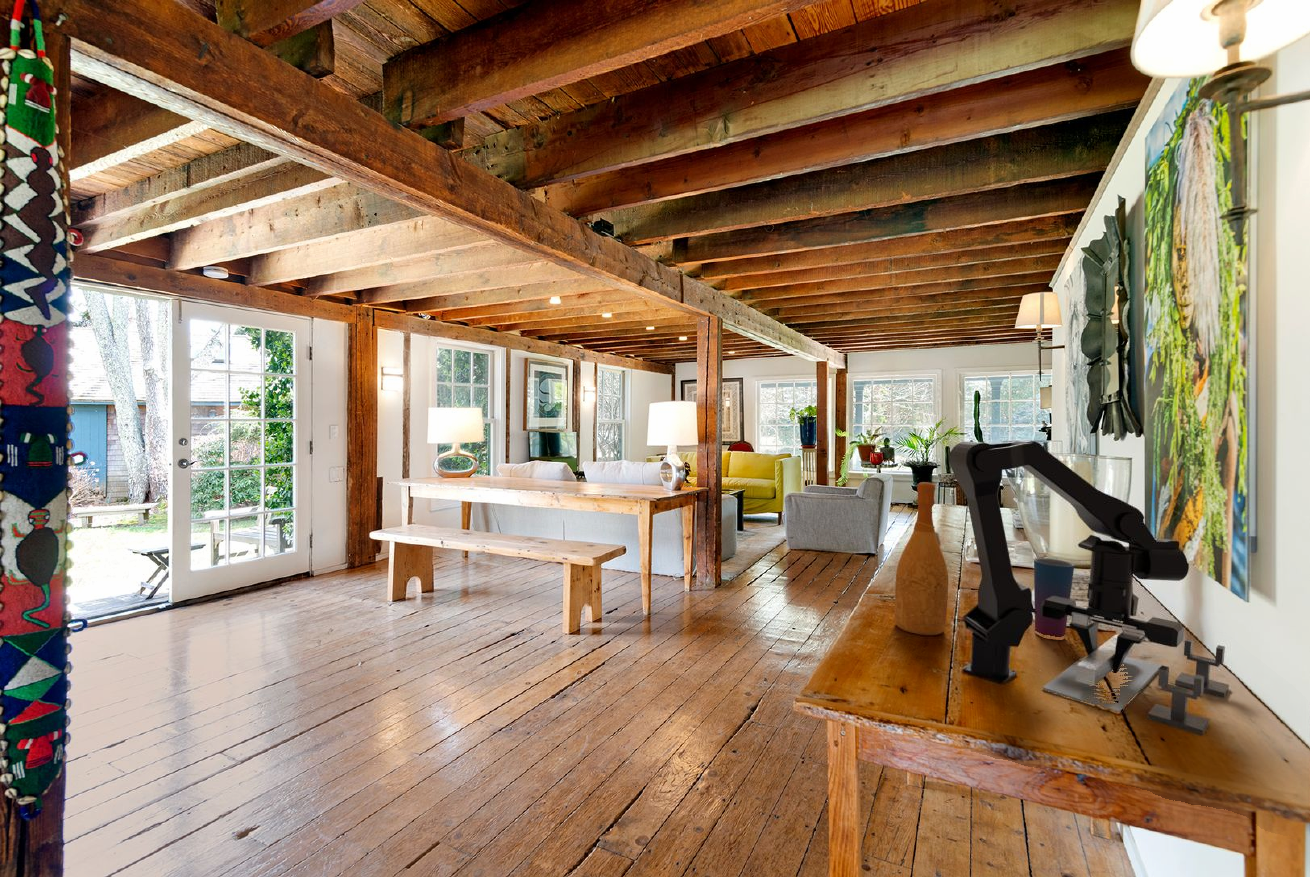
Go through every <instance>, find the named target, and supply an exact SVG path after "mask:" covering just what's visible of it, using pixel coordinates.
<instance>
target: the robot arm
mask: <svg viewBox="0 0 1310 877" xmlns="http://www.w3.org/2000/svg"><path fill="white" fill-rule="evenodd" d="M948 463H949V466H950V468H951V470H952V474H953V476H954V478H955V481H956V482H957V484H958V485H959V487H960V489H961V490H962V492H963V493H964V495H965V496H966V502H967V505H968V506H967V507H968V512H969V517H970V521H971V527H972V531H973V536H974V541H975V543H974V544H975V547H976V552H977V553H976V554H977V557H978V563H979V567H980V572H981V580H980V582H979V585H978V590H977V604H976V605H974V607H972V608H971V609H970V610H969V611H968V612H966V613H965V615H962V616H963V617H962V620H963V623H964V626H965V629H968V630H969V631H971V632H972V634H971V646H970V647H971V649H970V650H971V651H970V652H971V653H970V663H968V664H966V665H965V666H962V669H961V670H962V672H965V673H967V674H970V675H974V676H978V677H979V678H983V679H986V680H989V681H992V682H994V683H999V684H1004V683H1006V682H1008V681H1009V680H1011V679H1012V678H1014V677H1016V675H1017V674H1018V673H1017V671H1016V670H1014V669H1011V668H1010V660H1011V657H1010V656H1011V647H1015V648H1017V647H1019V646H1020V644H1021V641H1022V640H1023V637H1024V635H1025V633H1026V632H1027V631H1028V629H1029V628H1030V626H1032V624H1033V621H1034V615H1033V614H1035V613H1036V610H1035V606H1034V604H1033V597H1032V596H1033V594H1032V589H1031V588H1030V587H1028V586H1026V585H1024V584H1022V583H1020V582H1018V581H1016V579H1015V576H1014V573H1013V572H1014V571H1013V568H1012V562H1011V557H1010V552H1009V546H1008V542H1007V537H1006V531H1005V527H1004V521H1003V516H1002V511H1001V506H1000V500H999V496H998V494H999V489H1000V486H1001V483H1002V479H1003V471H1005V470H1011V469H1013V470H1014V469H1016V468H1021V467H1022V468H1023V469H1024V470H1026V471H1027V472H1028V473H1030V474H1031V475H1033V476H1034V477H1035V478H1036V479H1038V480H1039V481H1040V482H1042V483H1043V484H1044V485H1045V486H1047V487H1048V488H1049V489H1051V490H1052V491H1054V492H1055V493H1056V494H1057V495H1059V496H1060V497H1061V498H1062V499H1064V500H1065V501H1066V502H1068V503H1069V504H1070V505H1071V506H1072V507H1073V509H1075V511H1076V513H1077V516H1078V518H1080V520H1082V521H1083V522H1082V523H1084V524H1085V525H1086V526H1087V527H1088V528H1089V529H1090V530H1091V531H1092V532H1094V533H1096V534H1099V535H1103V536H1106V537H1110V538H1111V539H1113V540H1104V539H1103V540H1102V538H1101V537H1100V536H1097V535H1093V534H1089V536H1088V537H1086V539H1083V540H1081V541H1080V542H1079V543H1077V546H1078V547H1079V548H1080V549H1084V550H1085V551H1090V552H1091V555H1090V571H1089V582H1088V585H1087V586H1088V587H1087V593H1086V594H1087V595H1086V597H1087V599H1088V604H1087V607H1082V606H1077V603H1076V600H1075V599H1071V598H1070V599H1067V598H1062V597H1058V596H1052V597H1050V598H1048V599H1046V600H1044V601H1042V603H1041V607H1040V615H1042V616H1044V617H1049V618H1053V619H1057V620H1060V619H1062V618H1064V617H1065V616H1066V615H1068V617H1071V622H1070V623H1069V628H1071V629H1074V630H1075V631H1076V633H1077V635H1078V636H1079V638H1080V641H1081V642H1082V643H1083V646H1084V648H1085V651H1086V654H1088V655H1090V654H1091V653H1092V652H1094V651H1095V650H1096V649H1097V648H1099V645H1098V631H1099V624H1104V625H1108V626H1112V627H1117V628H1120V629H1121V631H1122V632H1121V633H1119V634H1117V635H1118V636H1117V642H1116V649H1115V655H1114V662H1113V673H1117V672H1118V671H1119V669H1120V667H1121V665H1122V663H1123V661H1124V659H1125V657H1126V655H1127V653H1128V651H1129V650H1130V648H1131V647H1132V648H1133V646H1134V644H1135V645H1137V644H1138V645H1140V644H1142V643H1143V642H1144V641H1146V639H1147V640H1148V641H1149V642H1150V643H1153V644H1158V645H1162V646H1166V647H1171V648H1178V647H1179V645H1180V644H1181V643H1182V642H1183V641H1184V636H1185V635H1184V634H1185V628H1184V626H1183V625H1182V624H1181V622H1178V621H1173V620H1170V619H1169V620H1168V619H1165V618H1164V619H1163V618H1160V617H1156V616H1155V617H1154V616H1152V617H1151V618H1150V619H1148V620H1147V621H1145V620H1142V619H1141V620H1140V619H1136V618H1131V617H1136V616H1137V610H1138V604H1139V597H1138V596H1136V595H1135V594H1134V587H1133V581H1134V579H1133V578H1134V576H1135V578H1137V579H1138V580H1146V581H1147V580H1153V581H1172V582H1173V581H1175V582H1180V581H1182V580H1184V579H1185V578H1186V577H1187V575H1188V574H1189V570H1190V563H1189V562H1188V560H1187V556H1186V555H1185V553H1184V552H1183V550H1181V548H1180V541H1179V540H1174V539H1171V538H1159V539H1156V538H1155V537H1154V535H1153V534H1152V532H1151V531H1150V529H1149V528H1148V526H1146V524H1145V522H1144V521H1145V520H1144V519H1145V516H1144V514H1143V513H1142V511H1141V510H1140V509H1138V508H1137V507H1135V506H1133V505H1132V504H1129V503H1128V502H1126V501H1124V500H1121V499H1119V498H1117V497H1114V496H1112V495H1110V494H1107V493H1105V492H1103V491H1101V490H1099V489H1098V488H1096V487H1095V486H1093V485H1092V484H1091V483H1089V482H1088V481H1087V480H1085V478H1083V477H1082V476H1081V475H1079V474H1078V473H1076V472H1075V471H1074V470H1072V469H1071V468H1070V467H1069V466H1067V465H1066V464H1065V463H1064V462H1062V461H1061V460H1060V459H1058V458H1057V457H1055V456H1054V454H1051V452H1049V451H1048V450H1047V449H1045V447H1044V446H1043V445H1042V444H1041V443H1040V442H1038V441H1035V440H1034V441H1033V440H1022V439H1020V440H1015V441H1011V442H1010V441H1009V442H1002V443H1001V442H999V443H998V442H997V443H988V442H987V443H986V442H981V441H980V442H978V441H968V440H967V441H960V442H959V443H957V444H956V445H954V446H953V448H952V449H951V450H950V451H949V453H948ZM1121 542H1122V543H1125V544H1128V546H1124V545H1123V544H1122V543H1121Z"/></svg>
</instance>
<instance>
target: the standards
mask: <svg viewBox="0 0 1310 877" xmlns="http://www.w3.org/2000/svg"><path fill="white" fill-rule="evenodd" d="M1183 649H1184V650H1183V656H1184V657H1186V660H1189V661H1193V662H1196V664H1195V665H1196V667H1195V675H1193V674H1189V673H1186V672H1183V671H1182V672H1180V673H1179V675H1178V676H1177V677H1176V678H1175V680H1174V685H1173V684H1169V673H1170V667H1169V666H1165V665H1162V666H1161V667H1160V668H1159V671H1158V680H1157V686H1158V687H1161V691H1163V692H1164V691H1165V692H1168V693H1171V705H1170V707H1169V706H1165V705H1162V704H1158V703H1155V704H1154V706H1153V707H1152V708H1151V710H1150V711H1149V712H1147V719H1148V720H1151V721H1154V722H1157V723H1160V724H1164V725H1167V726H1170V727H1172V728H1176V729H1180V730H1183V731H1186V732H1189V733H1191V734H1196V735H1198V736H1204V734H1205V732H1206V730H1207V728H1208V727H1209V725H1210V719H1209V718H1206V717H1202V716H1199V715H1195V714H1193V713H1192V714H1191V713H1189V712H1187V708H1188V699H1192V700H1198V699H1199V698H1201V697H1202V696H1203V695H1204V694H1209V695H1211V696H1212V695H1213V696H1216V697H1218V698H1223V699H1225V697H1226V695H1227V693H1228V691H1229V690H1230V689H1229V688H1230V684H1229V683H1224V682H1220V681H1217V680H1213V679H1210V674H1211V673H1210V672H1211V671H1210V669H1211V666H1213V667H1217V668H1219V667H1220V666H1221V665H1223V664H1224V663H1225V649H1226V647H1225V646H1224V645H1218V644H1217V646H1216V649H1215V659H1214V658H1209V657H1205V656H1201V655H1197V654H1193V653H1194V652H1193V650H1194V639H1192V638H1188V637H1187V638H1186V639H1184V646H1183Z"/></svg>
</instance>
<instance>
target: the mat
mask: <svg viewBox="0 0 1310 877" xmlns="http://www.w3.org/2000/svg"><path fill="white" fill-rule="evenodd" d="M1078 660H1083V659H1082V657H1080V658H1079V659H1078ZM1078 660H1077V661H1074V663H1073V664H1074V665H1073V664H1071V665H1070V666H1069V667H1068V668H1066V669H1064V670H1063V671H1062V672H1061V673H1059V674H1058V675H1057V676H1055V678H1054V677H1053V679H1052V680H1050V681H1049V682H1048V683H1046V684H1045V685H1043V687H1042V690H1043V689H1044V690H1046V691H1050V692H1052V693H1057V694H1059V695H1062V696H1065V697H1070V698H1072V699H1074V700H1078V701H1083V702H1087V703H1091V704H1094V705H1100V706H1102V707H1104V708H1107V709H1112V710H1115V711H1117V712H1120V711H1121V710H1122V709H1123V708H1124V707H1125V705H1127V703H1128V702H1129V701H1130V700H1131V699H1132V698H1133V697H1134V696H1135V695H1136V694H1137V693H1138V694H1139V693H1141V691H1142V690H1143V689H1144V688H1145V687H1146V686H1147V685H1148V683H1149V682H1151V680H1152V679H1153V678H1154V677H1155V676H1156V675H1157V674H1158V673H1159V668H1160V667H1161V666H1162V665H1161V664H1158V663H1154V662H1149V661H1146V660H1143V659H1139V658H1134V657H1131V656H1127V657H1126V658H1125V659H1124V661H1123V663H1122V664H1124V666H1123V665H1122V666H1121V667H1120V668H1127V669H1124V670H1123V671H1122V670H1121V671H1120V672H1128V674H1126V673H1125V674H1124V676H1132V677H1128V679H1126V678H1125V679H1123V680H1132V681H1128V682H1125V683H1123V684H1120V685H1128V686H1122V687H1121V686H1120V688H1112V689H1120V691H1119V690H1117V691H1116V692H1115V691H1114V692H1107V693H1120V695H1119V694H1118V695H1116V696H1111V697H1119V698H1116V699H1112V700H1104V699H1103V700H1102V699H1101V700H1100V699H1098V698H1096V697H1106V696H1100V695H1097V694H1094V693H1106V692H1102V691H1101V692H1100V691H1097V690H1096V689H1104V688H1098V687H1096V686H1089V684H1086V683H1083V682H1079V681H1076V680H1075V679H1076V665H1075V664H1078V663H1079V662H1080V661H1078ZM1110 672H1111V671H1110ZM1112 672H1113V671H1112ZM1120 676H1121V675H1120ZM1122 676H1123V675H1122ZM1096 685H1098V684H1096ZM1099 685H1100V684H1099ZM1144 686H1145V687H1144ZM1094 689H1095V690H1094ZM1141 689H1142V690H1141ZM1140 690H1141V691H1140ZM1046 691H1045V692H1046ZM1052 693H1051V694H1052ZM1059 695H1058V696H1059ZM1062 696H1061V697H1062ZM1065 697H1064V698H1065ZM1094 697H1095V698H1094ZM1107 697H1108V696H1107ZM1109 697H1110V696H1109ZM1074 700H1073V701H1074ZM1098 701H1120V702H1118V703H1117V702H1116V703H1105V702H1104V703H1103V702H1098ZM1111 705H1112V706H1111ZM1115 705H1116V706H1115Z"/></svg>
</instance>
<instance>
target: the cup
mask: <svg viewBox="0 0 1310 877" xmlns="http://www.w3.org/2000/svg"><path fill="white" fill-rule="evenodd" d="M1033 571H1034V572H1033V580H1034V581H1033V584H1034V585H1033V586H1034V587H1033V588H1034V589H1033V590H1034V591H1033V592H1034V597H1033V598H1034V609H1035V610H1036V613H1034V632H1035V631H1037V632H1039V633H1041V634H1043V635H1050V636H1055V637H1062V636H1064V635H1065V636H1066V630H1067V624H1068V622H1067V621H1068V617H1069V616H1068V615H1066V616H1065V617H1064V618H1062V619H1060V620H1057V619H1053V618H1049V617H1044V616H1042V615H1040V607H1041V603H1042V601H1044V600H1046V599H1048V598H1050V597H1052V596H1058V597H1062V598H1067V599H1071V593H1072V585H1073V579H1074V572H1075V564H1074V563H1073V562H1070V561H1067V560H1062V559H1057V558H1050V557H1049V558H1048V557H1043V558H1042V557H1039V558H1038V557H1037V558H1034V559H1033Z"/></svg>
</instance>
